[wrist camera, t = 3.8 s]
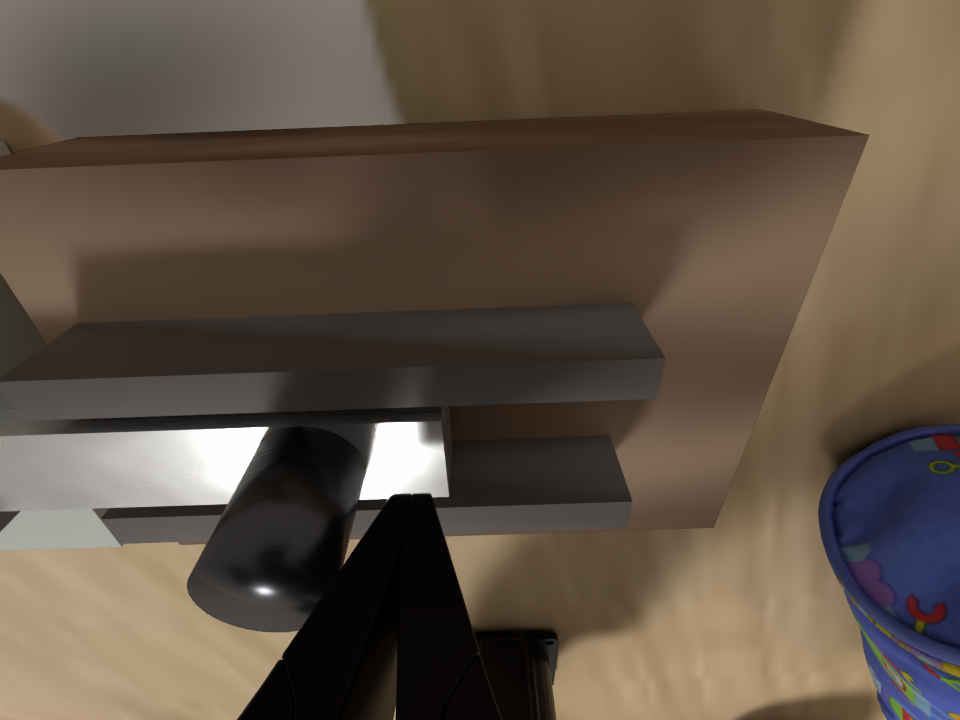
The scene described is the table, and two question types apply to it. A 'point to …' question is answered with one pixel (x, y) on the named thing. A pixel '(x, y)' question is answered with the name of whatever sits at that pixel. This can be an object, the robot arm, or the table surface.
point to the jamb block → (3, 345)
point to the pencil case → (902, 565)
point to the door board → (437, 295)
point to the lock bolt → (237, 488)
